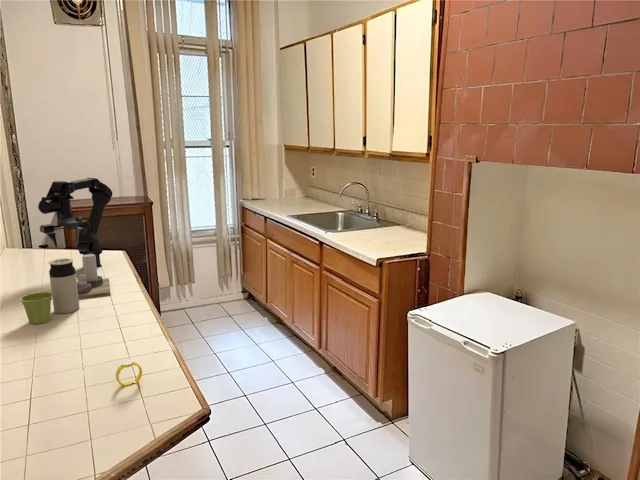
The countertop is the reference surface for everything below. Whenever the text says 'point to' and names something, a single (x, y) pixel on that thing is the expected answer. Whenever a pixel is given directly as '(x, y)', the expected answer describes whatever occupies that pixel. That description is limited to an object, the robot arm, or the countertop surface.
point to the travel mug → (63, 286)
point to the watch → (128, 364)
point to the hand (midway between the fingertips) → (67, 245)
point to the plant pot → (37, 306)
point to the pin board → (92, 287)
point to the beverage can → (90, 267)
